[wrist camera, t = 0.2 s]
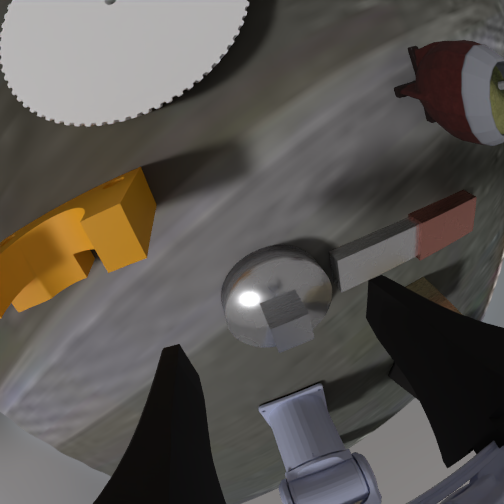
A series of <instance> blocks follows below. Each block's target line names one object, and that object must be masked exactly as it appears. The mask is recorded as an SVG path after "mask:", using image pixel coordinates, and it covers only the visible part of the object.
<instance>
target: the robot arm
mask: <svg viewBox="0 0 504 504" xmlns="http://www.w3.org/2000/svg"><path fill="white" fill-rule="evenodd" d="M366 319H367V321H368V322H369V324H370V326H371V328H372V330H373V331H374V333H375V335H376V337H377V338H378V340H379V341H380V343H381V344H382V345H383V347H384V348H385V349H386V351H387V352H388V353H389V355H390V356H391V358H392V359H393V360H394V362H395V363H396V364H397V366H398V367H399V368H400V370H401V371H402V373H403V374H404V375H405V377H406V378H407V380H408V381H409V383H410V384H411V386H412V388H413V390H414V391H415V393H416V395H417V397H418V399H419V401H420V403H421V405H422V407H423V409H424V411H425V413H426V415H427V418H428V420H429V422H430V424H431V427H432V429H433V432H434V434H435V437H436V440H437V443H438V446H439V449H440V452H441V455H442V459H443V462H444V463H445V465H446V467H447V468H449V467H450V466H452V465H453V464H455V463H456V462H457V461H459V460H461V459H462V458H463V457H465V456H466V455H467V454H469V453H470V452H471V451H472V450H474V451H475V453H476V454H477V455H475V456H474V457H473V458H472V459H471V460H469V461H468V462H467V463H466V464H464V465H463V466H462V467H460V468H459V469H458V470H457V471H455V472H454V473H452V474H451V475H450V476H448V477H447V478H446V479H444V480H443V481H441V482H440V483H438V484H437V485H436V486H434V487H432V488H431V489H429V490H428V491H426V492H425V493H423V494H422V495H420V496H418V497H416V498H415V499H413V500H412V501H410V502H408V503H406V504H437V503H438V502H440V501H441V500H443V499H444V498H446V497H447V496H448V495H449V494H451V493H452V494H451V495H450V496H448V497H447V498H446V499H445V500H444V501H442V502H441V503H440V504H504V328H502V327H498V326H494V325H491V324H487V323H484V322H481V321H478V320H475V319H472V318H469V317H467V316H464V315H461V314H459V313H456V312H454V311H452V310H450V309H448V308H445V307H443V306H441V305H439V304H437V303H435V302H433V301H431V300H429V299H427V298H425V297H423V296H421V295H419V294H417V293H415V292H413V291H411V290H410V289H408V288H406V287H404V286H402V285H400V284H398V283H396V282H395V281H393V280H391V279H389V278H387V277H385V276H383V275H380V276H378V277H376V278H373V279H371V280H368V298H367V312H366ZM258 409H259V412H260V413H261V414H262V416H263V417H264V418H265V420H266V421H267V422H268V424H269V425H270V427H271V428H272V430H273V433H274V436H275V439H276V442H277V445H278V448H279V451H280V454H281V457H282V460H283V463H284V465H285V468H286V471H287V472H286V473H285V475H286V478H287V479H283V480H282V481H281V483H280V485H279V492H280V496H281V499H282V502H283V504H354V503H356V502H358V501H360V500H362V502H361V503H360V504H381V498H382V496H381V494H380V492H379V489H378V486H377V481H376V478H375V475H374V473H373V471H372V469H371V467H370V465H369V463H368V461H367V460H366V458H365V457H364V456H363V455H361V454H358V453H356V452H355V453H352V454H351V452H350V450H349V449H347V450H346V448H345V446H344V444H343V442H342V440H341V438H340V436H339V434H338V431H337V429H336V427H335V425H334V423H333V421H332V419H331V417H330V415H329V412H328V410H327V405H326V400H325V395H324V390H323V386H322V384H321V383H319V384H316V385H314V386H311V387H309V388H306V389H304V390H302V391H299V392H297V393H294V394H292V395H289V396H286V397H284V398H281V399H278V400H276V401H273V402H270V403H267V404H264V405H261V406H259V408H258ZM468 480H470V483H469V484H467V485H465V486H464V487H462V488H460V489H458V488H459V487H461V486H462V485H463V484H465V483H466V482H467V481H468ZM457 489H458V490H457ZM455 490H457V491H455ZM454 491H455V492H454ZM453 492H454V493H453ZM93 504H226V502H225V499H224V496H223V493H222V490H221V487H220V484H219V481H218V477H217V474H216V470H215V466H214V463H213V458H212V453H211V447H210V439H209V432H208V424H207V416H206V407H205V399H204V395H203V391H202V386H201V382H200V378H199V375H198V373H197V372H196V370H195V369H194V367H193V365H192V364H191V362H190V361H189V359H188V357H187V356H186V354H185V353H184V351H183V349H182V348H181V346H180V344H177V345H174V346H170V347H166V348H163V350H162V353H161V356H160V360H159V363H158V367H157V370H156V373H155V377H154V380H153V383H152V386H151V389H150V392H149V395H148V398H147V401H146V404H145V407H144V410H143V412H142V415H141V418H140V420H139V423H138V425H137V428H136V430H135V433H134V435H133V437H132V439H131V442H130V444H129V446H128V448H127V450H126V452H125V454H124V456H123V458H122V459H121V461H120V463H119V465H118V467H117V469H116V470H115V472H114V474H113V475H112V477H111V479H110V480H109V481H108V483H107V485H106V486H105V487H104V489H103V491H102V492H101V494H100V495H99V496H98V498H97V499H96V500H95V501H94V503H93Z"/></svg>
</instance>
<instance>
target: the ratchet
mask: <svg viewBox="0 0 504 504" xmlns="http://www.w3.org/2000/svg"><path fill="white" fill-rule="evenodd" d="M475 208H476V196H474V195H472V194H470V193H468V192H466V191H465V190H462V191H459V192H457V193H455V194H453V195H451V196H448V197H446V198H444V199H442V200H439V201H437V202H435V203H433V204H430V205H428V206H426V207H424V208H421V209H419V210H417V211H414V212H412V213H410V214H408V218H405V219H403V220H401V221H399V222H396V223H394V224H392V225H389V226H387V227H385V228H382V229H380V230H378V231H375V232H373V233H371V234H368V235H366V236H364V237H361V238H359V239H357V240H354V241H352V242H349V243H347V244H345V245H342V246H340V247H337V248H335V249H333V250H330V251H329V256H330V262H331V268H332V275H333V282H334V283H335V285H336V286H337V287H338V289H339V290H340V291H341V292H343V291H346V290H348V289H350V288H352V287H354V286H357V285H359V284H361V283H363V282H365V281H367V280H369V279H371V278H374V277H376V276H378V275H380V274H382V273H384V272H386V271H388V270H390V269H392V268H394V267H396V266H398V265H400V264H402V263H404V262H406V261H408V260H410V259H412V258H414V257H417V258H418V259H419V260H422V259H424V258H426V257H427V256H429V255H431V254H433V253H435V252H437V251H438V250H440V249H442V248H444V247H445V246H447V245H449V244H451V243H452V242H454V241H456V240H458V239H459V238H461V237H463V236H464V235H466V234H468V233H469V232H471V231H473V225H474V217H475ZM331 300H332V286H331V282H330V280H329V278H328V276H327V275H326V273H325V272H324V271H323V270H322V268H321V267H320V266H319V264H318V263H317V262H316V261H315V259H314V258H313V257H312V256H311V255H310V254H309V253H307V252H306V251H304V250H302V249H300V248H297V247H294V246H288V245H275V246H269V247H265V248H262V249H259V250H257V251H254V252H252V253H250V254H249V255H247V256H245V257H244V258H243V259H241V260H240V261H239V262H238V263H237V264H236V265H235V266H234V267H233V268H232V269H231V270H230V272H229V273H228V275H227V277H226V279H225V281H224V283H223V286H222V291H221V301H222V306H223V310H224V314H225V318H226V322H227V325H228V328H229V330H230V331H231V333H232V334H233V335H234V336H235V337H236V338H237V339H238V340H240V341H242V342H243V343H246V344H248V345H252V346H256V347H275V346H277V348H278V351H279V353H280V352H283V351H285V350H288V349H290V348H293V347H295V346H298V345H300V344H302V343H305V342H307V341H309V340H312V339H314V334H313V329H314V328H315V327H316V326H317V325H318V324H319V323H320V321H321V320H322V319H323V317H324V316H325V315H326V313H327V311H328V309H329V306H330V304H331Z"/></svg>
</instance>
